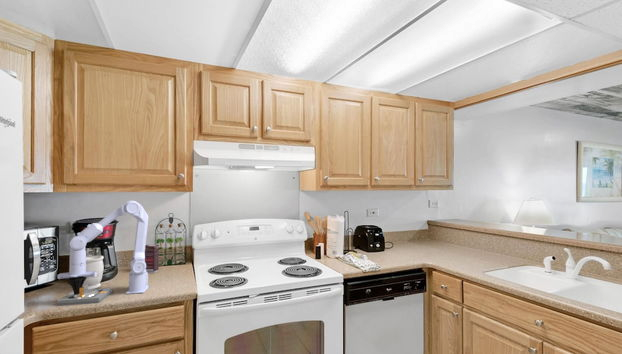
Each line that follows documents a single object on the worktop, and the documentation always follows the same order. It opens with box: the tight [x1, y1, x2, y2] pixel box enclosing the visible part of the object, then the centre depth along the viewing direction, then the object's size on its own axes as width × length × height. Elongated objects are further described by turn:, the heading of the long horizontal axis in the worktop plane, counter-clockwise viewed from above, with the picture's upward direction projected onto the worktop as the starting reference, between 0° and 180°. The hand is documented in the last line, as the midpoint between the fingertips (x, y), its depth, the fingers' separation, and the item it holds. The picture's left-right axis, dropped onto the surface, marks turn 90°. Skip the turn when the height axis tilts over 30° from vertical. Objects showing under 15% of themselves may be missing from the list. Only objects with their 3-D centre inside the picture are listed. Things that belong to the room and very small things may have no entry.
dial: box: [74, 285, 99, 298], centre depth 136 cm, size 9×9×5 cm
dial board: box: [56, 287, 113, 307], centre depth 136 cm, size 13×16×2 cm
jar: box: [82, 255, 105, 289], centre depth 151 cm, size 11×10×15 cm
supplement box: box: [145, 244, 160, 274], centre depth 178 cm, size 9×5×16 cm, turn 86°
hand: (77, 294), depth 132 cm, fingers closed
